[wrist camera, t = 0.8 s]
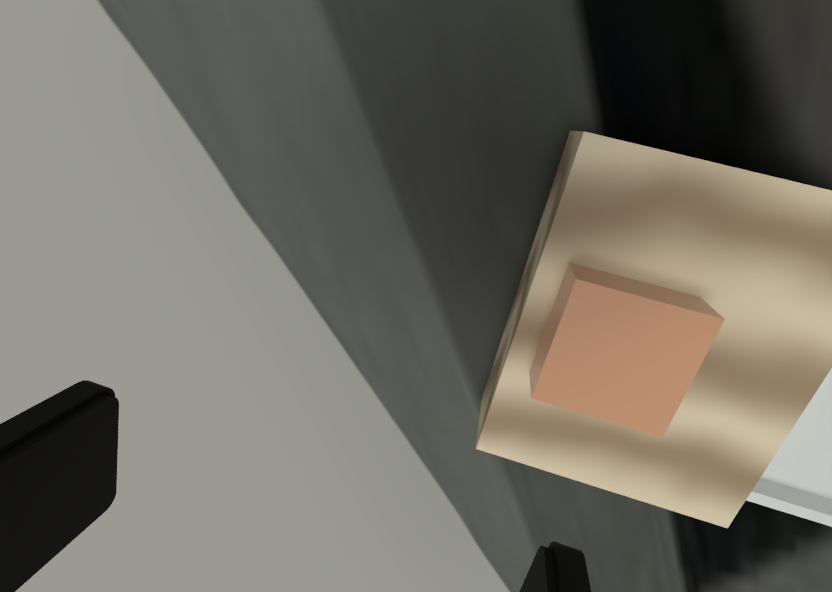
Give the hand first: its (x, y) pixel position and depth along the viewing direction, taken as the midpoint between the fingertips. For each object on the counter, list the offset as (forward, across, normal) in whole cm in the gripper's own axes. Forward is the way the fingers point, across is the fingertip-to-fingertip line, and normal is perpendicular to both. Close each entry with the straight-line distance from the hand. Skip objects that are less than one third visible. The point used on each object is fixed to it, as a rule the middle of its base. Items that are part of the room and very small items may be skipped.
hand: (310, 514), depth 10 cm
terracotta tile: (+18, -10, 0) cm, 21 cm away
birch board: (+24, -13, 0) cm, 28 cm away
